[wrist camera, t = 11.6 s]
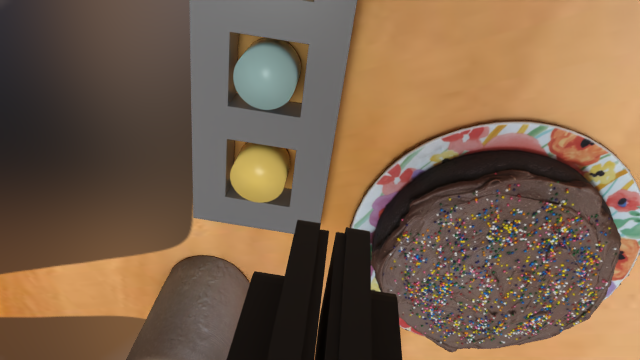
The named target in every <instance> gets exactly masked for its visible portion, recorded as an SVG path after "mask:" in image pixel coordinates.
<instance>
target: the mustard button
mask: <svg viewBox="0 0 640 360" xmlns="http://www.w3.org/2000/svg"><path fill="white" fill-rule="evenodd" d="M289 169H290V157H289V154H288V152H287V150H286V149H285V148H281V147H274V146H268V145H262V144H255V143H249V142H247V143H246V144H245V145H244V146H243V147H242V149H241V151H240V153H239V155H238V157H237V159H236V161H235V163H234V165H233V166H232V169H231V172H230V180H231V184H232V186H233V188H234V189H235V191H236V192H237V193H238V194H239V195H240V196H242V197H243V198H245V199H247V200H249V201H252V202H258V203H264V202H269V201H272V200H274V199H276V198H277V197H278V196H279V195H280V194H281V193H282V191H283V189H284V186H285V182H286V179H287V175H288V172H289Z"/></svg>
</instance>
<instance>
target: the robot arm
mask: <svg viewBox="0 0 640 360" xmlns="http://www.w3.org/2000/svg"><path fill="white" fill-rule="evenodd" d="M320 225H321V223H316V222H310V221H304V220H297V224H296V228H295V233H294V237H293V242H292V246H291V251H290V255H289V260H288V264H287V269H286V273H285V276H280V275H274V274H268V273H262V272H254V273H253V276H252V278H251V282H250V285H249V288H248V291H247V295H246V298H245V301H244V304H243V308H242V311H241V314H240V317H239V321H238V324H237V327H236V330H235V334H234V337H233V340H232V343H231V346H230V350H229V353H228V356H227V359H226V360H314V356H315V360H402V351H401V338H400V325H399V312H398V301H397V296H396V294H392V293H386V292H379V291H373V290H371V242H370V231H366V230H360V229H354V228H348V227H347V228H346V230H345V233H339V232H336V235H335V241H334V246H333V251H332V256H331V261H330V267H329V272H328V277H327V282H326V288H325V293H324V298H323V303H322V308H321V314H320V320H319V313H320V304H321V296H322V287H323V278H324V270H325V261H326V253H327V244H328V235H329V231H326V230H320ZM318 321H319V327H318ZM317 330H318V336H317ZM316 338H317V344H316ZM315 347H316V353H315Z"/></svg>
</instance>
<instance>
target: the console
mask: <svg viewBox="0 0 640 360" xmlns="http://www.w3.org/2000/svg"><path fill="white" fill-rule="evenodd" d="M356 4H357V0H190V52H191V53H190V54H191V107H192V161H193V162H192V163H193V217H194V218H198V219H204V220H210V221H217V222H223V223H229V224H235V225H241V226H248V227H254V228H260V229H266V230H273V231H279V232H285V233H291V234H294V233H295V228H296V224H297V220H304V221H310V222H316V223H320V221H321V215H322V209H323V203H324V197H325V191H326V185H327V179H328V173H329V167H330V161H331V155H332V149H333V143H334V137H335V131H336V125H337V119H338V113H339V107H340V101H341V95H342V89H343V83H344V76H345V70H346V64H347V58H348V52H349V46H350V40H351V34H352V28H353V22H354V16H355V10H356ZM239 33H241V34H247V35H253V36H260V37H266V38H272V39H279V40H285V41H291V42H298V43H304V44H309V49H308V57H307V66H306V74H305V82H304V91H303V99H302V103H295V102H289V101H288V102H287V103H286V104H284V105H283V106H281V107H279V108H276V109H272V110H262V109H258V108H255V107H253V106H251V105H249V104H248V103H246V102H245V101H244V100H243V99H242V98H241V97H240V95H239V94H238V93H237V90H236V88H235V85H234V80H233V73H234V68H235V66H236V63H237V62H238V42H239ZM235 140H237V141H243V142H249V143H255V144H262V145H268V146H274V147H281V148H287V149H293V150H296V158H295V167H294V175H293V183H292V189H286V188H284V189H283V191H282V193H281V194H280V195H279V196H278V197H277V198H276V199H274V200H272V201H269V202H264V203H258V202H252V201H249V200H247V199H245V198H243V197H242V196H240V195H239V194H238V193H237V192H236V191H235V189H234V188H233V186H232V184H231V180H230V172H231V169H232V166H233V165H234V150H235Z"/></svg>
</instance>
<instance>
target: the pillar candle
mask: <svg viewBox="0 0 640 360" xmlns="http://www.w3.org/2000/svg"><path fill="white" fill-rule="evenodd" d="M249 285H250V283H249V282H248V280H247V279H246V278H245V276H244V275H243V274H242V273H241V272H240V271H239V270H238V269H237V268H236V267H235V266H234V265H232V264H231V263H229V262H227V261H225V260H222V259H219V258H216V257H212V256H195V257H190V258H187V259H184V260H182V261H181V262H179V263H178V264H176V265H175V266H174V267H173V268H172V270H171V272H170V274H169V276H168V278H167V280H166V281H165V283H164V285H163V287H162V289H161V291H160V293H159V295H158V297H157V299H156V301H155V303H154V305H153V307H152V309H151V311H150V313H149V315H148V317H147V319H146V321H145V323H144V325H143V327H142V329H141V331H140V333H139V335H138V337H137V339H136V341H135V343H134V345H133V347H132V349H131V351H130V353H129V355H128V357H127V359H126V360H226V359H227V356H228V353H229V350H230V346H231V343H232V340H233V337H234V334H235V330H236V327H237V324H238V321H239V317H240V314H241V311H242V308H243V304H244V301H245V298H246V295H247V291H248V288H249Z"/></svg>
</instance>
